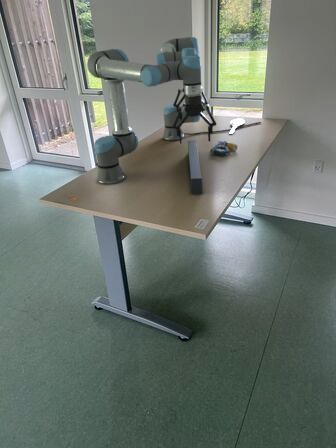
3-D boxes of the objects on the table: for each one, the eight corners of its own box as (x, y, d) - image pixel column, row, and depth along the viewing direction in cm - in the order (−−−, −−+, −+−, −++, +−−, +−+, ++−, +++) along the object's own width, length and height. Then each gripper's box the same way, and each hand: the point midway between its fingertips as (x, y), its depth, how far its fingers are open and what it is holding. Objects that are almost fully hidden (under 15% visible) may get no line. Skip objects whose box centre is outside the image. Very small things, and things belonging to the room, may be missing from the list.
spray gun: (240, 146, 220) (218, 145, 226) (240, 140, 217) (218, 139, 224) (230, 158, 204) (207, 156, 211) (230, 151, 202) (207, 150, 208)
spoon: (237, 136, 244) (237, 133, 243) (223, 136, 248) (223, 133, 247) (246, 120, 270) (246, 118, 269) (232, 120, 274) (232, 117, 273)
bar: (188, 153, 217) (187, 140, 213) (196, 153, 217) (195, 140, 213) (191, 194, 166) (191, 178, 162) (202, 193, 166) (201, 178, 162)
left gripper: (164, 98, 146) (168, 145, 157) (222, 94, 144) (222, 142, 155) (165, 95, 152) (169, 141, 163) (220, 91, 150) (220, 137, 161)
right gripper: (167, 81, 185) (170, 120, 196) (212, 78, 183) (212, 117, 194) (167, 79, 191) (170, 117, 202) (211, 76, 190) (211, 114, 201)
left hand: (194, 141), depth 159 cm, fingers open, 13 cm apart
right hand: (191, 117), depth 198 cm, fingers open, 13 cm apart
